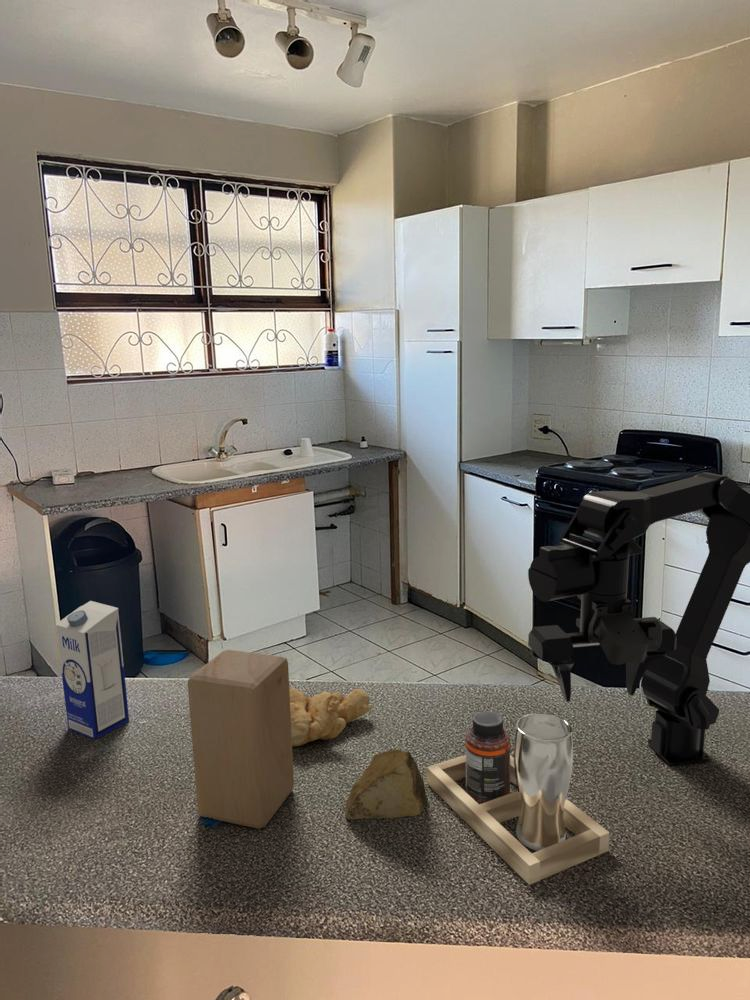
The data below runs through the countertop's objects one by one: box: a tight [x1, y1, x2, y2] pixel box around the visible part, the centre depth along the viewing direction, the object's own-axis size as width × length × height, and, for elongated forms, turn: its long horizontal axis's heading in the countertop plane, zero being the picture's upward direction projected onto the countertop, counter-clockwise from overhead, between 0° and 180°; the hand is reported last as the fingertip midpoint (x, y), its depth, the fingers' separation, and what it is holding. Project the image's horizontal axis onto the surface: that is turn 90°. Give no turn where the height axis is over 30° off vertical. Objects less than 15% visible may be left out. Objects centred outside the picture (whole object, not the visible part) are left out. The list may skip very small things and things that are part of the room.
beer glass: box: [513, 712, 574, 852], centre depth 91 cm, size 7×7×15 cm
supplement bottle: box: [465, 710, 511, 804], centre depth 100 cm, size 6×6×11 cm
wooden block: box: [187, 649, 295, 829], centre depth 98 cm, size 10×10×20 cm
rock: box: [344, 748, 428, 820], centre depth 98 cm, size 11×9×10 cm
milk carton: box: [55, 600, 130, 741], centre depth 120 cm, size 7×7×20 cm
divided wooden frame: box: [426, 754, 610, 886], centre depth 97 cm, size 22×12×2 cm, turn 27°
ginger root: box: [289, 685, 372, 747], centre depth 118 cm, size 16×16×8 cm
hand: (598, 697), depth 101 cm, fingers open, 9 cm apart
